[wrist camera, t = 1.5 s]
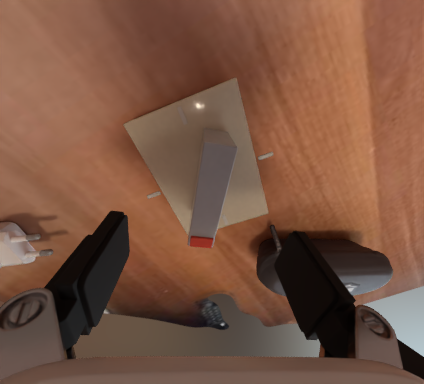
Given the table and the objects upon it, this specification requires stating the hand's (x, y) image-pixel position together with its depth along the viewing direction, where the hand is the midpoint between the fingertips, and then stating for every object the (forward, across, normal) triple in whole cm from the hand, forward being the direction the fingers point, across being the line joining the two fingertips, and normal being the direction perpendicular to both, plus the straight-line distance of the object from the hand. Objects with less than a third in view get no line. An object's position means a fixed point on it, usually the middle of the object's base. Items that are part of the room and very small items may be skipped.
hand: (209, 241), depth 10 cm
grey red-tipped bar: (+8, 0, 0) cm, 8 cm away
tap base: (+12, 0, 0) cm, 12 cm away
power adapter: (+12, +22, +13) cm, 28 cm away
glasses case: (+12, -18, +10) cm, 24 cm away
